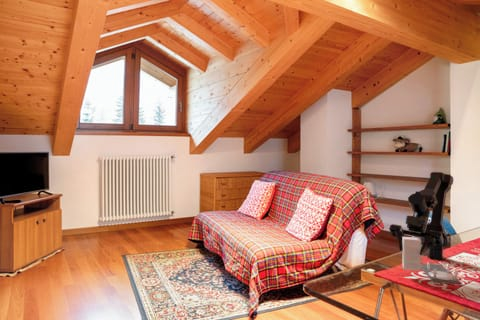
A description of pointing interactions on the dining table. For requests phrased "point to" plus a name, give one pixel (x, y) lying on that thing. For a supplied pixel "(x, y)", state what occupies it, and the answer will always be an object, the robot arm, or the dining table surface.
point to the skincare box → (411, 253)
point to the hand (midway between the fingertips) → (410, 252)
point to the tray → (440, 273)
